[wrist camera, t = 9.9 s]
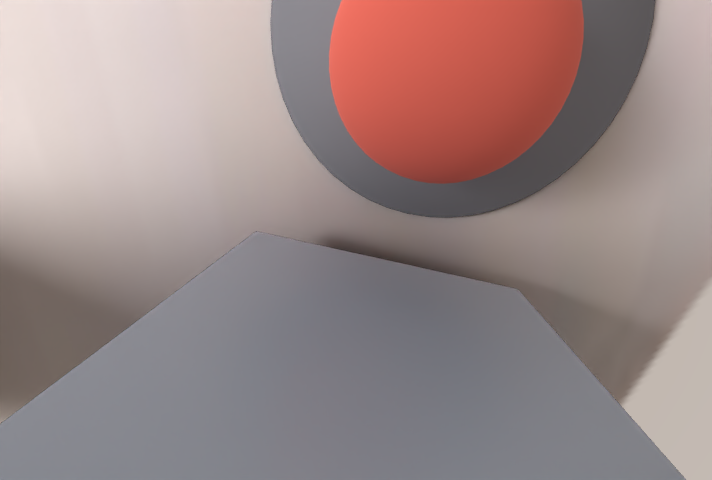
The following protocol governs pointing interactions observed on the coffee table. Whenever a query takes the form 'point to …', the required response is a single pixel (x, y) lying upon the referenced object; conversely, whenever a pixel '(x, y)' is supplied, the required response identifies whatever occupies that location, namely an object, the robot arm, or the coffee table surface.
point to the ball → (452, 80)
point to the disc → (486, 193)
